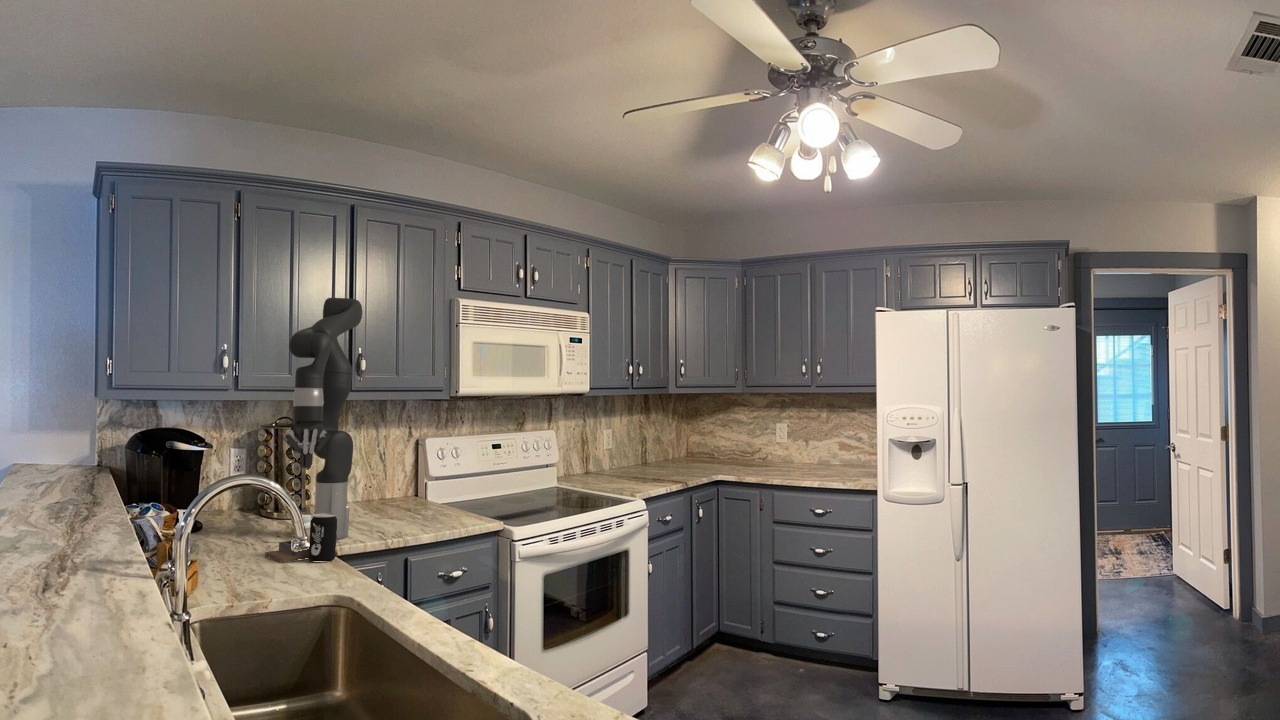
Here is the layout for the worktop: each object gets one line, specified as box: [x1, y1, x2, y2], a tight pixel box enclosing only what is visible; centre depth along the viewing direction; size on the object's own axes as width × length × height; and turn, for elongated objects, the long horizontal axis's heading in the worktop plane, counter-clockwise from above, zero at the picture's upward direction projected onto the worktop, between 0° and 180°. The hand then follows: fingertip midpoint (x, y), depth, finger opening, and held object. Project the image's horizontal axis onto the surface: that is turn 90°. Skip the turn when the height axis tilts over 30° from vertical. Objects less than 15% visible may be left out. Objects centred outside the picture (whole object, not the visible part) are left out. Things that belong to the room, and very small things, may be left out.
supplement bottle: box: [290, 514, 312, 541], centre depth 192 cm, size 5×5×10 cm
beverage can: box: [308, 513, 338, 562], centre depth 186 cm, size 7×7×12 cm
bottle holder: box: [264, 540, 309, 563], centre depth 191 cm, size 14×11×4 cm
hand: (305, 467), depth 193 cm, fingers closed
